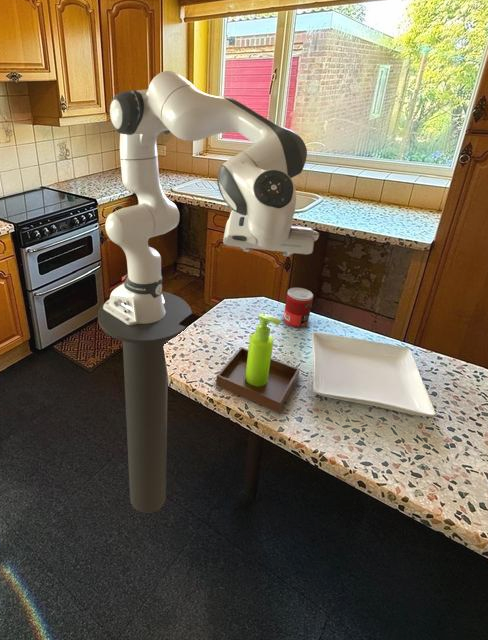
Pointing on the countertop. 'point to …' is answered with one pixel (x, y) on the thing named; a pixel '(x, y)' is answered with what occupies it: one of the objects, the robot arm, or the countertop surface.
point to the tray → (266, 395)
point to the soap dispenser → (260, 352)
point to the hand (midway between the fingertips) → (266, 251)
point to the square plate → (369, 374)
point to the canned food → (298, 307)
